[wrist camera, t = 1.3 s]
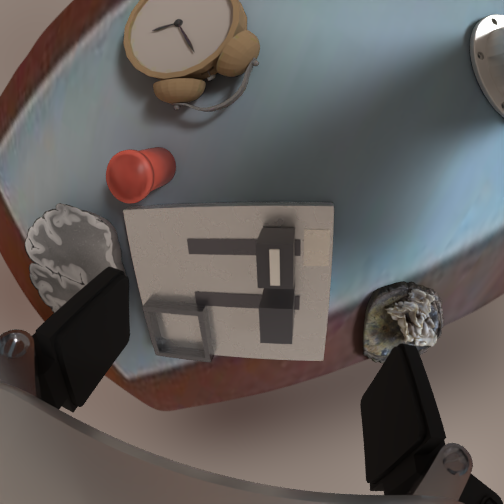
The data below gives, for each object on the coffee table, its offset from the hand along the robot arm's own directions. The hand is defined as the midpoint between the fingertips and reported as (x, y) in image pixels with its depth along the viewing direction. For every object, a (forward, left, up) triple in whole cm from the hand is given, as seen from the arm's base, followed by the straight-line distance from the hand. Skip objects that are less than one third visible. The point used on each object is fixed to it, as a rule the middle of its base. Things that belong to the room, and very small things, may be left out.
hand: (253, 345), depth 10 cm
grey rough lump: (-13, +14, -22) cm, 29 cm away
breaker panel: (+6, +9, -21) cm, 24 cm away
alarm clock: (+8, -16, -21) cm, 28 cm away
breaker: (+1, +10, -19) cm, 22 cm away
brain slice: (+27, +8, -21) cm, 35 cm away
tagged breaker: (+1, +4, -19) cm, 20 cm away
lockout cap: (+13, -4, -21) cm, 25 cm away
